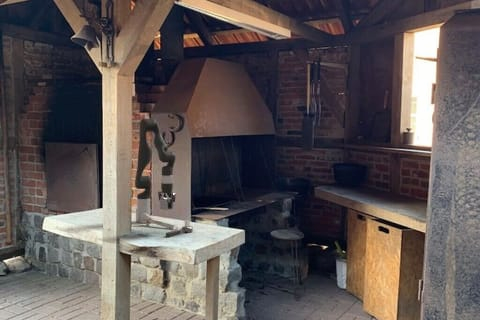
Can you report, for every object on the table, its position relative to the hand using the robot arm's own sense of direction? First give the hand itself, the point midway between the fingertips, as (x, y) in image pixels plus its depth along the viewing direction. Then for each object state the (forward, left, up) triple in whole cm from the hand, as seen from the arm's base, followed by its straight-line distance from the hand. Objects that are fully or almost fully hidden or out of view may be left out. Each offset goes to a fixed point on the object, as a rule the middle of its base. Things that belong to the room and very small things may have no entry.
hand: (166, 207), depth 287 cm
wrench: (-14, +8, -16) cm, 23 cm away
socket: (0, 0, -1) cm, 1 cm away
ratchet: (+9, +2, -16) cm, 19 cm away
